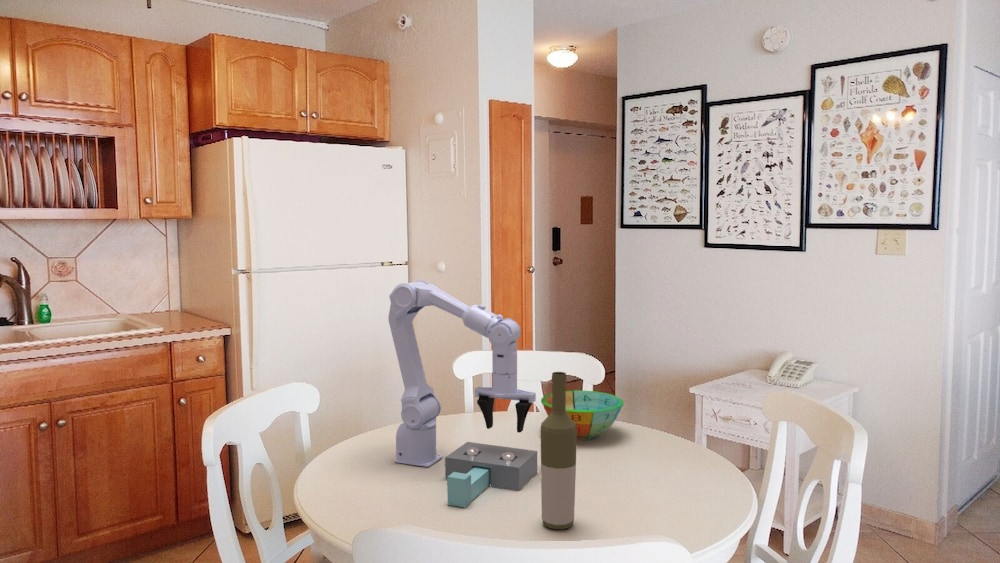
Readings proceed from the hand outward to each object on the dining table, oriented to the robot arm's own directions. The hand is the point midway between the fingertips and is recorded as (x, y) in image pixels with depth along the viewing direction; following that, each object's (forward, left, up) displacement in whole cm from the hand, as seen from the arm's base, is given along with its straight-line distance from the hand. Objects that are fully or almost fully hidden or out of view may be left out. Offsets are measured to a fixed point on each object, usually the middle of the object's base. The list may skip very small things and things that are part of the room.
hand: (504, 429), depth 166 cm
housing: (-2, -3, -10) cm, 11 cm away
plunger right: (+2, -4, -7) cm, 8 cm away
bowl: (+9, +34, -11) cm, 37 cm away
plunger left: (-7, -4, -7) cm, 10 cm away
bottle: (+20, -22, -11) cm, 32 cm away
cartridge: (-2, -14, -10) cm, 18 cm away
